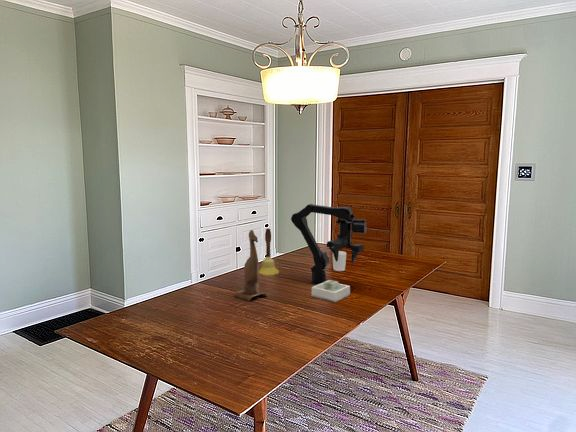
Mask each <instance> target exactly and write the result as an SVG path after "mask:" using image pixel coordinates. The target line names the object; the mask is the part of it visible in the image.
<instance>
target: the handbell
mask: <svg viewBox="0 0 576 432" xmlns="http://www.w3.org/2000/svg"><path fill="white" fill-rule="evenodd" d="M264 240H265V246H266V249H265V252H266V253H265V255H266V257H265V258H264V259H262V263H261V264H262V266H261V268H260V269H259V273H260V274H263V275H262V276H276V275H278V274H279V273H280V271H279V270H278V269H277V268H276V266H275V260H274V259H273V258H271V243H272V242H271V241H272V232H271V228H266V229H265V234H264ZM260 274H259V275H260ZM275 274H276V275H275Z"/></svg>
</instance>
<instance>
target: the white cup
mask: <svg viewBox="0 0 576 432" xmlns="http://www.w3.org/2000/svg"><path fill="white" fill-rule="evenodd" d="M346 261H347V252H346V251H341V250H339V255H338V261H336V260H335V257H334V254H333V253H332V266H333V271H335V272H344V271H345V270H346V264H347V262H346Z"/></svg>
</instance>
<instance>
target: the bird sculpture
mask: <svg viewBox="0 0 576 432" xmlns="http://www.w3.org/2000/svg"><path fill="white" fill-rule="evenodd" d="M248 238H249V239H248V240H249V251H250V252H249V257H248V258H247V259H246V261H245V263H244V266H243V270H244V271H243V283H244V285H243V288H244V289H242V290H241V289H240V290H238V291H235V293H234V297H235V298H238V299H241V300H243V301H246V302H249V303H250V302H251V299H253V297H256V296H259V295H263V296H265V297H268V296H269V295H268V293H267V292H266V291H265V292H264V291H261V290H260V285H259V280H260V274H259V270H260V269H259V256H258V253H257V252H258V251H257V247H256V243H258V241H259V239H258V237H257V236H256V234H255V232H254V230H253V229H251V230H249V231H248Z"/></svg>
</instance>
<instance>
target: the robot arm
mask: <svg viewBox="0 0 576 432" xmlns="http://www.w3.org/2000/svg"><path fill="white" fill-rule="evenodd" d="M311 213H313V214H315V213H316V214H321V215H328V216H332V217H335V218H337V220H336V221H335V222H334V223H335V224H339V234H337V236H336V237H337V238H335V239H332V240H329V241H327V242H326V248H328V249H329V250H330V251H331V252H332V255H333V254H334V257H335V260H336V261H338V255H339V251H341V250H342V249H344V248H345V249H350V250H351V251H350V254H351V265H354V263H355V262H356V259H357V256H358V255H359V254H360V253H361V252H362V251H364V250H365V247H364V244H361V243H360V244H359V243H355V244H353V241H352V236H353V234H365V235H366V233H367V228H368V227H367V226H368V225H367V222H366V221H367V220H366V219H357V218H356V216H355V214H353V210H352V208H351V207H349V206H337V207H333V206H326V205H319V204H313V203H309V204H307V205H306V206H305V207H304V208H302V209H300V210H299V211H297V212H294V213H293V214H292V215H291V218H290V220H291V223H292V224H293V225H294V227H296V229H298V230H299V232H300V233H301V235H302V237H303V239H304V240H305V243H306V244H307V247H308V248H309V250H310V252H311V254H312V257H313V263H314V265H313V266H311V268H310V270H311V271H310V272H311V281H310V282H309V283H310V284H314V285H318V284H321V283H323V282H325V281H327V274H326V271H325V270H326V268H327V267H329V265H330V257H329V256H328V254H327V252H326V251H325V252H323V251H322V250H321V249H320V246H319V245H318V242H317V241H316V239H315V238H314V235H313V234H312V232H311V229H310V227H309V225H308V219H307V217H308V216H309V215H310V214H311ZM352 232H353V233H352Z"/></svg>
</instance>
